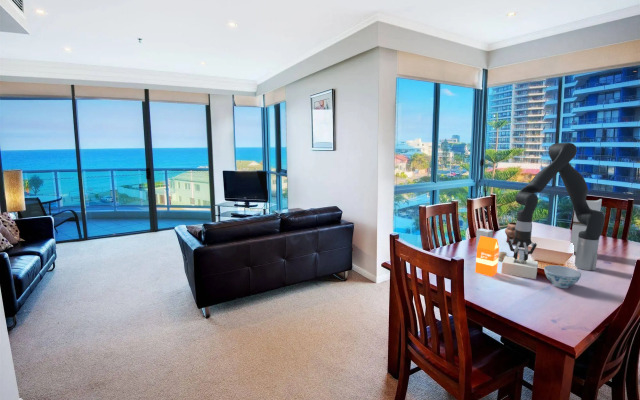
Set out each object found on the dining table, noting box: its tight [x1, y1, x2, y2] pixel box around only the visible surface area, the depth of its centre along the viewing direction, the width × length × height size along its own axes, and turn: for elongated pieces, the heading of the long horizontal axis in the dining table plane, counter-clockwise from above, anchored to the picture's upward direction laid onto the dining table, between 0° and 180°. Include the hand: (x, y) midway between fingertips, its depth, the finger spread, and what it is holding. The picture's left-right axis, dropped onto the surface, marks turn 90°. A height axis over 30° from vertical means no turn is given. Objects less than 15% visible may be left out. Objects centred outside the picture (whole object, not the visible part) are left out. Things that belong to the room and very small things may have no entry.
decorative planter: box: [504, 222, 516, 246], centre depth 238 cm, size 20×12×14 cm, turn 132°
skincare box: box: [475, 227, 494, 252], centre depth 219 cm, size 8×6×15 cm
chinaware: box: [543, 264, 582, 289], centre depth 170 cm, size 15×15×8 cm
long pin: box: [516, 247, 525, 264], centre depth 186 cm, size 4×4×10 cm
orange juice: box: [474, 236, 500, 278], centre depth 186 cm, size 8×9×20 cm
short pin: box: [498, 251, 508, 263], centre depth 205 cm, size 4×4×5 cm
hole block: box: [500, 256, 539, 280], centre depth 187 cm, size 16×12×6 cm
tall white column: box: [570, 198, 603, 256], centre depth 212 cm, size 11×11×35 cm
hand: (520, 259), depth 186 cm, fingers closed on long pin, 4 cm apart
